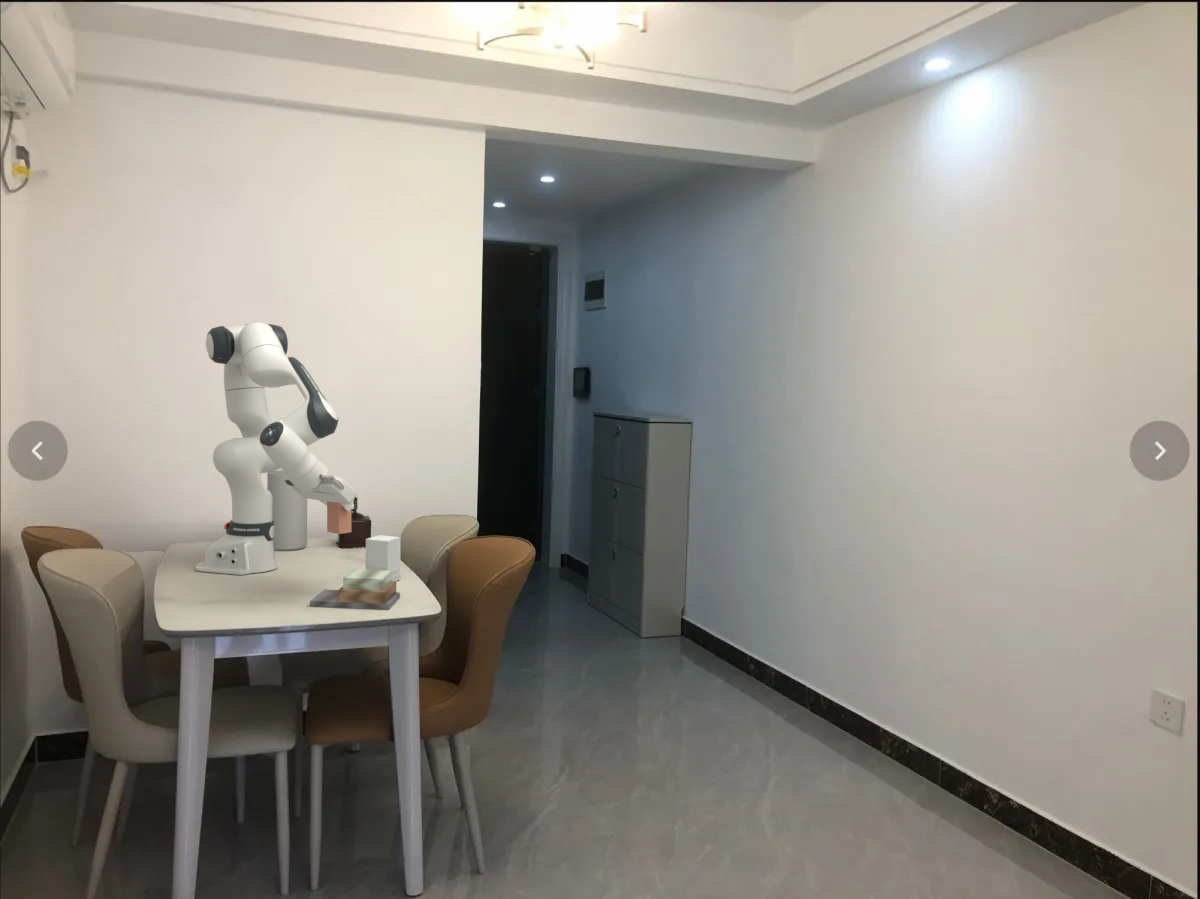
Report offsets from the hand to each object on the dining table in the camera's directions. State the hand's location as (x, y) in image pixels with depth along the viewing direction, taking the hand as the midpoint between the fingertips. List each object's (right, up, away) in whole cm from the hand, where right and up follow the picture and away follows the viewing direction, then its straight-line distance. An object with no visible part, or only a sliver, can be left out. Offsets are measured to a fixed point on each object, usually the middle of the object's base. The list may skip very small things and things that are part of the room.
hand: (341, 507), depth 242 cm
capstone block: (0, -6, 0) cm, 6 cm away
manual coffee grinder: (-14, -17, +64) cm, 67 cm away
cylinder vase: (-34, -17, +58) cm, 70 cm away
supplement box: (+7, -22, +17) cm, 29 cm away
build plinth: (+6, -24, -7) cm, 26 cm away
